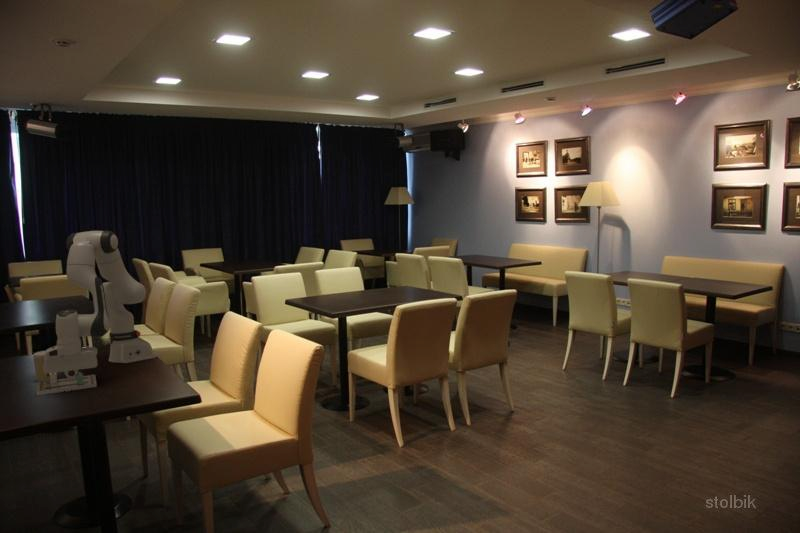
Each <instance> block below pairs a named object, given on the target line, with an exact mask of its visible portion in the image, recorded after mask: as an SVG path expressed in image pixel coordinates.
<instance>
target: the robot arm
mask: <svg viewBox="0 0 800 533" xmlns="http://www.w3.org/2000/svg"><path fill="white" fill-rule="evenodd" d="M66 248H67V250H68V254H67V259H66V278H67V280H68V281H69V282H70V283H71V284H72V285H75V286H76V287H79V288H80V289H84V290H87V291H89V292H90V293H91V296H92V301H93V307H94V312H93V313H92V314H91V313H90V314H85V313H84V314H83V313H82V314H78V312H77V310H75V309H72V308H71V309H70V308H69V309H64V310H60V311H58V312H57V314H56V316H55V317H56V318H55V333H56V336H57V340H56V345H54V346H51V347H49V348H47V349H46V350H45V351H46V352H45V354H46V356H45V358H44V364H43V372H44V373H45V374H50V373H57V374H58V373H64V375H65V377H66V378H68V381H75V380H76V377H77V373H79V370H86V369H93V368H94V369H95V368H97V367H98V358H97V355H98V348H97V347H96V346H93V345H89V346H82V339H81V337H93V338H94V337H95V338H103V337H104V336H105V335H106V334H107V333H109V335H108V337H109V340H108V341H109V344H110V349H109V350H110V351H109V357H108V362H111V363H120V364H128V363H129V364H130V363H135V362H140V361H146V360H150V359H156V358H157V357H158V352H156V351H154V350H153V348H152V345H151V343H150V342H149V341H146V339H143V338H142V337H140V336H141V332H140V331H139V330H137V329H135V319H134V317H135V316H134V315H133V313H132V312H131V311H128V310H127V309H126V308H125V306H124V305H134V304H138V303H142V302H143V301H144V300H145V299H146V296H147V290H146V287H145V285H143V284H142V283H141V282H138V281H137V280H136V279H135V278H134V277H133V276H131V274H130V273H129V272H128V271H127V269H126V267H125V264H124V262H123V258H122V255H121V253H120V250H119V238H118V236H117V234H116V233H115V232H114V231H109V230H90V231H89V230H87V231H82V232H80V231H79V232H73V233H71V234H70V235H68V237H67V239H66ZM96 265H97V268H98V271H99V274H100V276H101V277H102V279H104V280H106V282H103V281H102V279H101V278H100V277H98V275H97V273H96ZM71 371H73V373H74V375H69V372H71Z"/></svg>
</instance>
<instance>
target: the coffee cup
mask: <svg viewBox="0 0 800 533" xmlns="http://www.w3.org/2000/svg"><path fill="white" fill-rule="evenodd" d="M45 352H46V350H41V351H36V352H34V353H33V354H32V358H33V363H34V369H35V371H34V372H35V375H36V376H35V377H36V381H37V380H38V381H37V382H41V381H43V382H45V381H49V380H50V374H45V373H44V372H43V364H44V358H45V356H46V354H45Z"/></svg>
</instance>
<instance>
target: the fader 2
mask: <svg viewBox="0 0 800 533" xmlns="http://www.w3.org/2000/svg"><path fill="white" fill-rule="evenodd" d="M83 376H84V372H81V371H78V373H77V375H76V377H77V385H80V384H84V381H83Z"/></svg>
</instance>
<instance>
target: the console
mask: <svg viewBox="0 0 800 533" xmlns="http://www.w3.org/2000/svg"><path fill="white" fill-rule="evenodd" d="M83 381H84V384H80V385H77V376H76V380H75V381H68V377H66V378H61V379H60V378H59V379H57V383H53V384H50V381H37V387H36V396H44V395H49V394H51V395H52V394H56V393H57V394H58V393H64V391H65V392H72V391H78V390H84V389H91V388H97V387H98V385H97V384H98V383H97V378H96V374H92V373H91V374H90V375H83ZM71 390H72V391H71Z"/></svg>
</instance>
